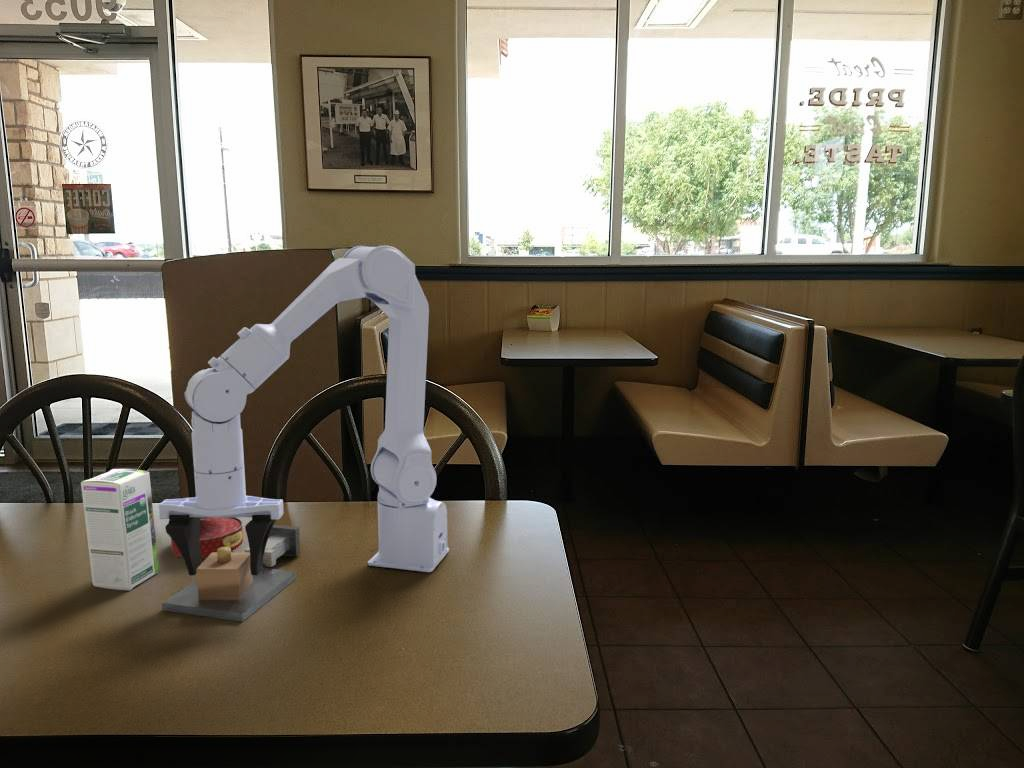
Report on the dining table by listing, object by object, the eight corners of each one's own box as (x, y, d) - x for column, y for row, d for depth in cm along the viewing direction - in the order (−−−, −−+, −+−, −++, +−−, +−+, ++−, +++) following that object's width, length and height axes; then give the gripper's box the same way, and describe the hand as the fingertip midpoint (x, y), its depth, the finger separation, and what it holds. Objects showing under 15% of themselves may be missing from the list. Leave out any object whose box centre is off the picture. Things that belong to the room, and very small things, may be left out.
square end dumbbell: (300, 553, 105) (298, 527, 105) (273, 573, 99) (272, 545, 98) (272, 550, 106) (271, 524, 106) (244, 570, 100) (242, 542, 99)
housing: (239, 599, 90) (237, 557, 89) (198, 599, 90) (195, 557, 89) (252, 581, 95) (250, 541, 94) (213, 581, 94) (211, 541, 94)
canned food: (199, 590, 105) (162, 542, 99) (179, 560, 112) (143, 513, 107) (268, 540, 109) (235, 492, 104) (244, 514, 117) (213, 468, 112)
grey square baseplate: (295, 578, 98) (295, 571, 98) (242, 621, 86) (242, 613, 86) (223, 569, 100) (222, 562, 100) (162, 610, 89) (161, 602, 89)
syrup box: (130, 591, 94) (120, 483, 91) (90, 587, 95) (79, 479, 92) (159, 572, 99) (151, 469, 97) (121, 568, 100) (112, 466, 98)
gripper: (288, 458, 94) (292, 558, 96) (173, 458, 93) (181, 558, 96) (271, 475, 87) (277, 582, 89) (147, 474, 86) (156, 582, 89)
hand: (225, 571), depth 92 cm, fingers open, 7 cm apart
